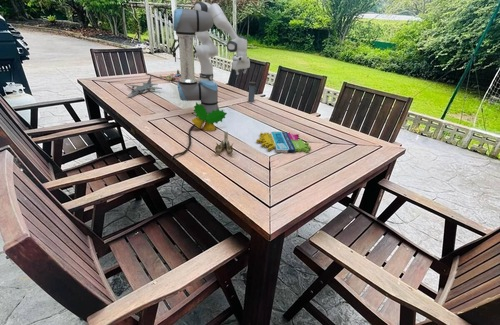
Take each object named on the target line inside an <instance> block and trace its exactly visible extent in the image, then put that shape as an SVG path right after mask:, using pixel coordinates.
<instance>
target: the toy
mask: <svg viewBox="0 0 500 325" xmlns="http://www.w3.org/2000/svg"><path fill="white" fill-rule="evenodd" d="M159 77H160V78H159V79H161V78H164V79H165V81H168V82H171V81H170V80H176V81H179V80H180V79H181V78H179V77H181V72H180V70H179V69H177V70H176V73H170V74H167V75H166V76H165V75H164V76H163V75H159Z"/></svg>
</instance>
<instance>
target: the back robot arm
mask: <svg viewBox="0 0 500 325" xmlns="http://www.w3.org/2000/svg"><path fill="white" fill-rule="evenodd" d="M193 10H201V11H205V12H207V13H209V14H210V15H211V16H212V17H213V20H214V24H213V25H215V27H216V28H217V29H219V30H222V31H223V32H226V34H228V36H229V38H230V39H231V40H228V41H227V43H226V50H227V51H228V52H229V53H236V54H235V55H234V56H232V64H231V69H232V70H233V71H235V75H236V76H239V75H240V72H239V70H243V71H242V72H243V74H244V75H246V74H247V70H248V69H250V68H251V61H250V57H249V56H248V39H247V38H246V37H245V36H242V35H239V34H237V31H236V29H235V28H234V27H233V25H232V23H231V22H229V19H228V18H227V16H226V15H225V13H224V11H223V9H222V8H221V7H220V5H219V4H218V3H215V2H214V3H210V2H206V1H200V0H199V1H196V2H195V3H194V4H193ZM195 37H196V40H198V41H199V42H200V43H201V44H199V45H196V46H194V47H195V49H196V51H197V53H195V54H194V56H195V57H196V58H197V59H198V61H199V64H200V65H199V66H200V73H198V75H199V77H198V78H197V79H196V80H197V83H200V81H201V80H207V81H212V82H215V81H214V66H213V63H212V62H211V61H210V58H214V57H216V56H218V53H219V48H218V46H217V45H216V44H215V43H214V42H213V40H212V38H211V37H210V33H209V30H207V31H204V32H195ZM145 75H148V76H151V77H155V78H157V79H160V80H165V79H166V78H163V77H162V78H160V76H157V75H153V74H151V73H147V72H145ZM165 81H166V80H165ZM169 82H175V83H179V80H174V79H171V80H170V81H169Z"/></svg>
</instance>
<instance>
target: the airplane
mask: <svg viewBox="0 0 500 325" xmlns="http://www.w3.org/2000/svg"><path fill="white" fill-rule="evenodd" d="M158 85H159V84H158V83H152V76H151V75H149V78H148V80H147V82H142V85H138V84H137V85H136V84H129V83H128V84H127V86H129V87H131V88H130V90H131V92H130V93H129V94H128V95H127V98H133V97H135V96H137V95H139V94H145V93H147V92H150V91H151V93H152V92H154V91H155V90H156V89H159V90H160V89H162V87H155V86H158Z"/></svg>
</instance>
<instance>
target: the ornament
mask: <svg viewBox="0 0 500 325" xmlns="http://www.w3.org/2000/svg"><path fill="white" fill-rule="evenodd" d="M219 110H220V108H219V109H217V110H216V111H214V110H212V112H211V113H208V112H206V109H204V106H201V103H198V102H196V101H195V105H194V106H193V112H194V113H195V118H192V119H191V122H192V123H193V125H194V124H195V127H197V128H198V129H202V130H203V131H206V132H212V131H213V132H214V131H215V130H216V126H215V124H218V123H219V122H223V119H226V115H227V114H228V113H227V112H224V110H223V109H221V110H220V111H219ZM207 113H208V115H207ZM214 123H215V124H214Z"/></svg>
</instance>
